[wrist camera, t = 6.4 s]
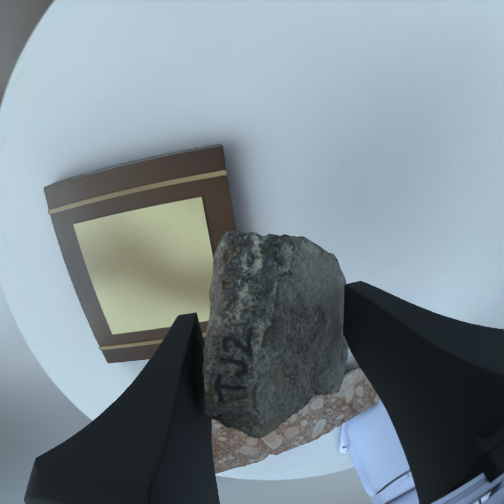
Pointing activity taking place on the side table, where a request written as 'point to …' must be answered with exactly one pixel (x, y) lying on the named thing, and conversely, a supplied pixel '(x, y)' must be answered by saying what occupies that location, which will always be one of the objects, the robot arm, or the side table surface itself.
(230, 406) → the rock
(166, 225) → the plaque
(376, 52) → the side table surface
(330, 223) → the side table surface
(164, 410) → the robot arm
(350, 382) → the rock
